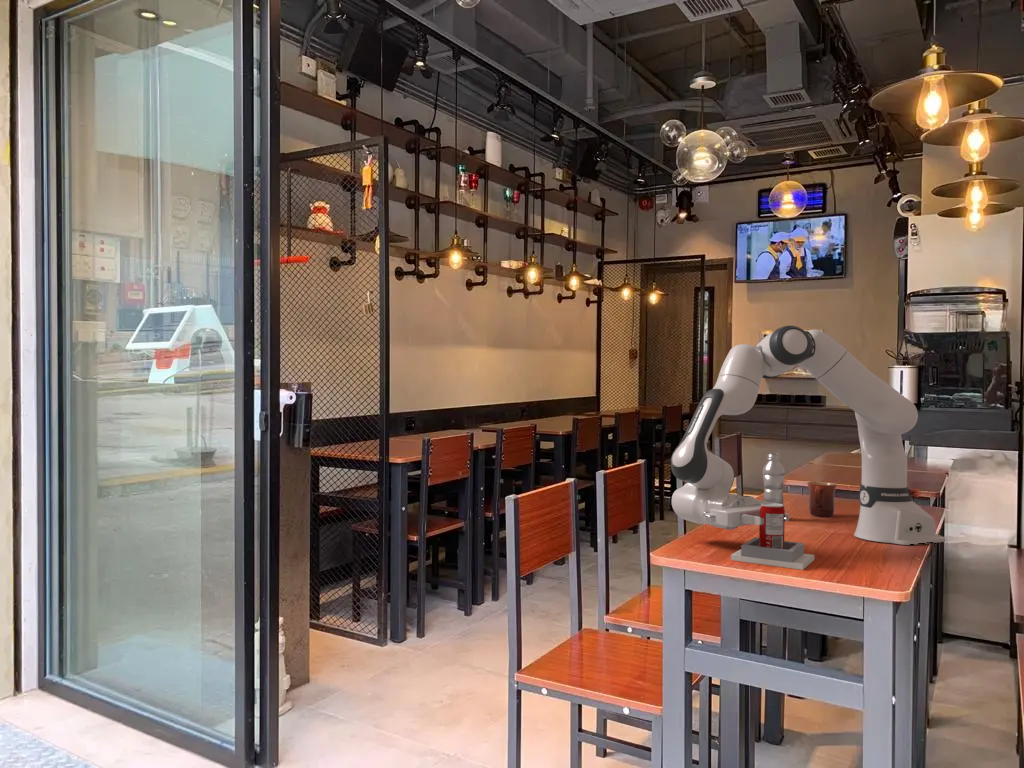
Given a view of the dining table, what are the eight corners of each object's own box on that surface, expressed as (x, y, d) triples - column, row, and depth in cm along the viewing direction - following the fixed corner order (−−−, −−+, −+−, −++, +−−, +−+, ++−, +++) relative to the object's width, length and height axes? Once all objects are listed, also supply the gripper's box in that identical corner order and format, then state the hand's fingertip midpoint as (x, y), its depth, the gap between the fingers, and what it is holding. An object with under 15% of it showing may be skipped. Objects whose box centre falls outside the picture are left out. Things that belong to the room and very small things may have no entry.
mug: (810, 512, 249) (810, 480, 249) (838, 515, 245) (839, 483, 245) (801, 517, 239) (802, 484, 239) (831, 520, 235) (831, 486, 235)
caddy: (745, 551, 188) (745, 536, 188) (814, 560, 180) (814, 544, 180) (730, 560, 178) (731, 544, 178) (802, 569, 169) (803, 553, 169)
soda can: (769, 551, 183) (769, 500, 183) (788, 555, 178) (789, 503, 178) (754, 553, 180) (754, 502, 180) (774, 558, 175) (774, 505, 175)
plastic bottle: (787, 521, 232) (788, 455, 232) (765, 520, 232) (766, 454, 233) (780, 517, 239) (781, 453, 239) (758, 517, 239) (759, 452, 239)
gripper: (698, 501, 184) (746, 509, 172) (753, 495, 196) (801, 502, 184) (698, 527, 184) (746, 537, 172) (752, 520, 196) (800, 528, 184)
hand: (775, 519), depth 178 cm, fingers open, 8 cm apart
